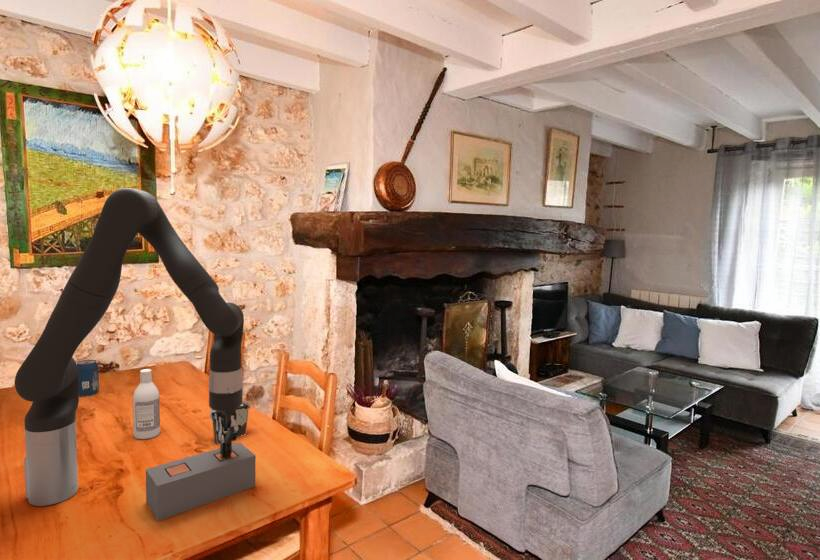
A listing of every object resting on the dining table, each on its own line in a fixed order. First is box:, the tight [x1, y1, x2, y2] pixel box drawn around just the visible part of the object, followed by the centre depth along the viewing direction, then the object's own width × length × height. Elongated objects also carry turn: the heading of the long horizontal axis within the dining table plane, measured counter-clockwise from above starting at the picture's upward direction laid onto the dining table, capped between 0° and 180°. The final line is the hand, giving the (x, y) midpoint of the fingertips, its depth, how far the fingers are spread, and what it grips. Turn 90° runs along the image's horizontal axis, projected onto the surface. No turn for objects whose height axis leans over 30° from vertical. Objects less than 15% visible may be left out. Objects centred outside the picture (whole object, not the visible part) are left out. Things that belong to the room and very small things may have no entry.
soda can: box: [76, 359, 100, 397], centre depth 171 cm, size 7×7×12 cm
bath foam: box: [132, 368, 161, 440], centre depth 140 cm, size 7×7×20 cm
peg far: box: [215, 452, 237, 462], centre depth 115 cm, size 4×4×8 cm
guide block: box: [145, 442, 257, 522], centre depth 112 cm, size 22×9×8 cm, turn 133°
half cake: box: [209, 400, 251, 445], centre depth 142 cm, size 12×6×10 cm, turn 141°
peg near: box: [166, 464, 190, 477], centre depth 108 cm, size 4×4×8 cm
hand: (226, 455), depth 115 cm, fingers closed
